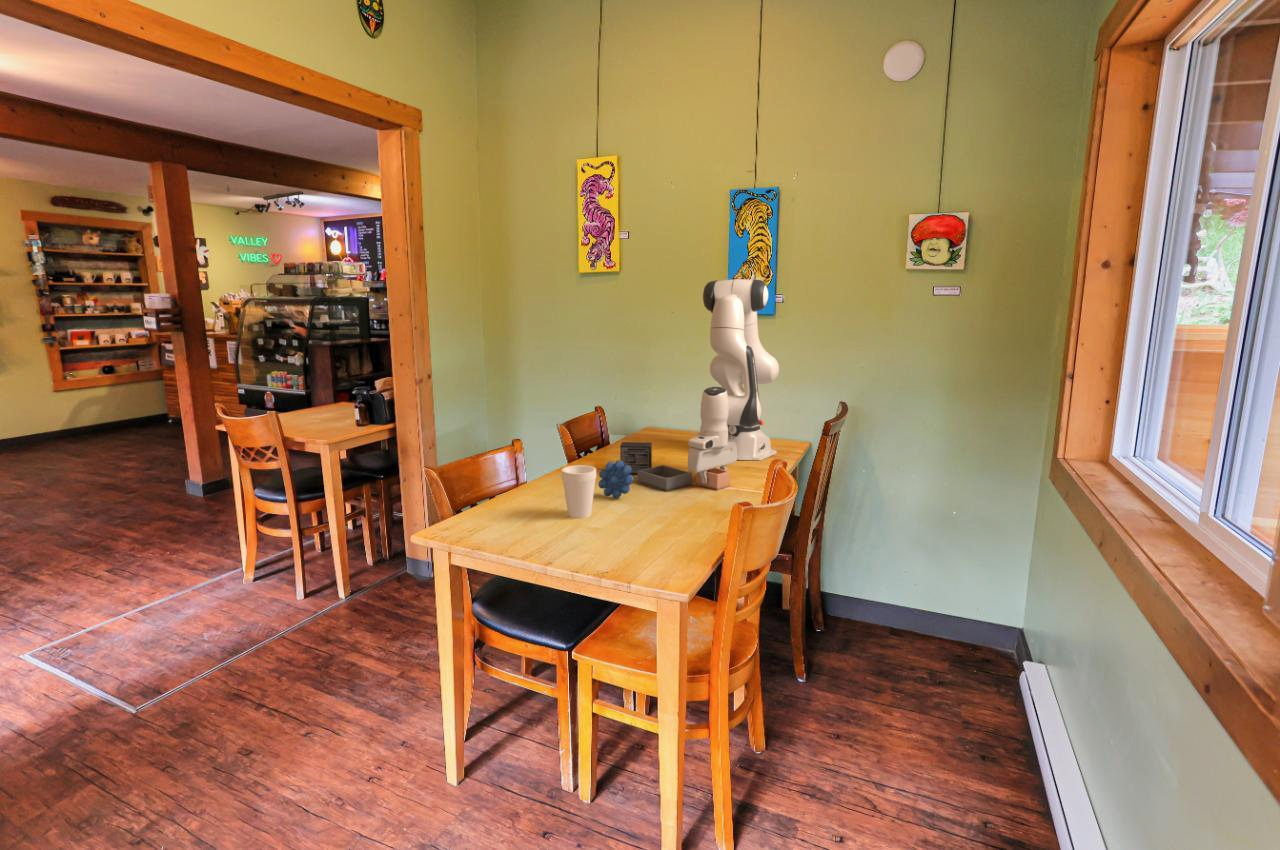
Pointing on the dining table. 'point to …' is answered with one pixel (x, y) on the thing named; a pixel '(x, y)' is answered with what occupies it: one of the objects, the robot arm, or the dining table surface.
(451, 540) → the dining table surface
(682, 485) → the box
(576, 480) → the foam cup
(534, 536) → the dining table surface
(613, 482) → the grapes
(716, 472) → the small crate
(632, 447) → the small box
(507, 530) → the dining table surface
